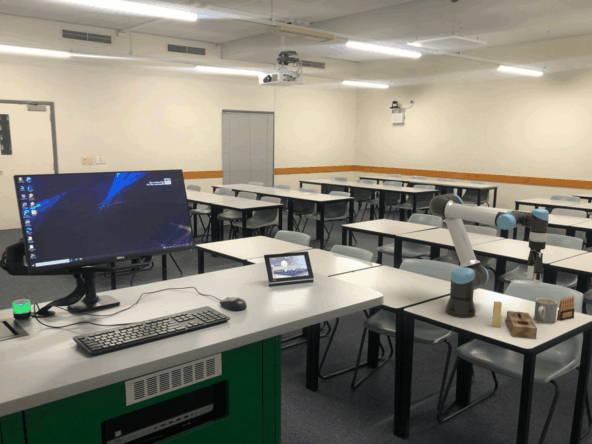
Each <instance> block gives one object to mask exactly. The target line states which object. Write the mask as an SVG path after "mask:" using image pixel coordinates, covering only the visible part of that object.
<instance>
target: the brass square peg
mask: <svg viewBox="0 0 592 444" xmlns="http://www.w3.org/2000/svg"><path fill="white" fill-rule="evenodd" d="M502 307H503V305H502V301H495V300H494V301H493V312H492V324H491V325H492V327H493V328H501V321H502V320H501V318H502Z"/></svg>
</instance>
